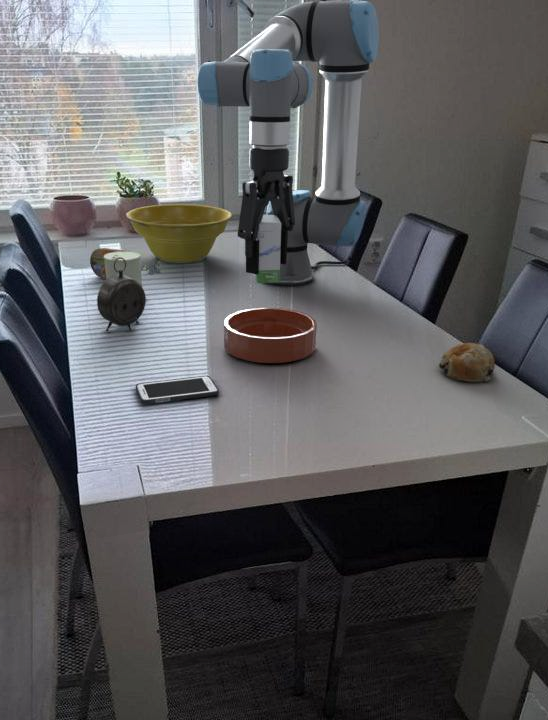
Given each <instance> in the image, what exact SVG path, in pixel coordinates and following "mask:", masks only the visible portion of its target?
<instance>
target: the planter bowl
mask: <svg viewBox="0 0 548 720" xmlns="http://www.w3.org/2000/svg"><path fill="white" fill-rule="evenodd" d="M125 216H126V218H127V219H129V220H130V222H131V225H132V227H133V229H134V231H135V232H136V233H137V234H138V235H140V236H141V237H142V238H143V239H144V242H145V243H146V245H147V247H148V248H149V250H150V252H151V253H152V255H154V256H155V257H156V258H158V259H159V260H160V261H162V262H166V263H173V264H189V263H195V262H200V261H201V260H204V258H206V257H207V256H208V255H209V254H210V251H211V250H212V248H213V246H214V244H215V242H216V240H217V238H218V237H219V236H220V235H221V234H223V233H224V231H225V230H226V227H227V225H228V222H229V220H230V219H231V218H232V217H233V214H232V212H230V211H229V210H226V209H224V208H220V207H216V206H209V205H203V204H202V205H201V204H185V203H184V204H183V203H171V204H156V205H147V206H141V207H137V208H134V209H130V210H129V211H128V212H126V215H125Z"/></svg>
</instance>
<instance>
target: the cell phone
mask: <svg viewBox="0 0 548 720" xmlns="http://www.w3.org/2000/svg"><path fill="white" fill-rule="evenodd" d="M135 391H136V393H137V394H136V395H137V396H138V398H139V401H140V403H141V404H143V405H149V404H156V403H157V404H158V403H164V402H174V401H183V400H190V399H199V398H207V397H213V396H218V395H219V393H220V390H219V388H218V387H217V385H216V383H215V381H214V379H212V377H211V376H209V375H199V376H190V377H182V378H174V379H165V380H157V381H156V380H155V381H147V382H140V383H136V384H135Z"/></svg>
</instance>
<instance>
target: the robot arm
mask: <svg viewBox="0 0 548 720" xmlns="http://www.w3.org/2000/svg"><path fill="white" fill-rule="evenodd" d="M379 45H380V29H379V19H378V15H377V11H376V8H375V7H374V5H373V4H372V2H370V1H366V0H327V1H326V0H325V1H314V0H313V1H305V2H301V3H297V4H295V5H293V6H290V7H288V8H286V9H285V10H283V11H281V12H279V13H277V14H276V15H273V17H272V18H270V19H269V20H268V21H267V22H266V23H265V24H264V26H263V28H262V31H261V33H259V34H258V35H256V36H255V37H253V38H252V39H251V40H250V41H248V42H247V43H246V44H245V45H243V46H242V47H241V48H239V49H238V50H237V51H235V52H234V53H233V54H232V55H230V56H229V57H228V58H226V59H225V60H223V61H216V60H213V61H208V62H204V63H202V64H201V65H200V67H199V68H198V72H197V77H196V82H197V83H196V87H197V93H198V97H199V99H200V101H201V103H203V104H204V105H207V106H215V107H218V108H220V107H240V108H241V107H242V108H243V107H245V108H249V144H250V145H251V147H250V148H249V150H248V152H249V153H248V167H249V169H250V170H251V171H252V172H253V177H252V180H251V181H243V182H242V185H241V186H242V187H241V189H242V198H241V206H240V215H239V220H238V227H237V237H238V238H240V239H243V240H244V255H245V256H244V257H245V273H248V274H252V275H254V274H256V275H257V274H259V240H256V238H257V235H258V231H259V224H260V223H261V221H262V217H263V215H275V216H277V217H278V218H279V220H280V222H281V249H280V282H279V283H268V284H270V285H274V286H300V285H304V284H307V283H310V282H312V280H313V270H317V268H318V266H319V265H345V264H347V263H348V262H349V260H352V256H351V255H350V254H347V255H346V258H345V260H341V261H334V260H333V261H332V260H331V261H330V260H320V261H317V262H315V264H314V265H313V266H312V265H311V261H310V257H309V252H308V244H312V245H324V246H333V247H338V248H339V247H348V248H349V247H352V246H354V245H355V244H357V242H358V240H359V238H360V235H361V233H362V230H363V227H364V222H365V219H366V214H367V203H366V201H364V200H361V191H360V190H359V189H358V188H357V186H356V173H357V157H358V142H359V129H360V128H359V127H360V115H361V113H360V112H361V98H362V97H361V96H362V80H363V78H364V77H365V76H366V75H367V74H368V72H369V70H370V64H372V63H374V62H375V61H376V60H377V57H378V54H379V52H378V51H379V47H380V46H379ZM299 62H312V63H313V62H314V63H316V62H317V63H319V73H320V75H321V76H322V77H323V78H324V80H325V82H324V83H325V85H324V86H325V87H324V109H323V110H324V112H323V140H322V164H321V165H322V167H321V168H322V169H321V186H320V187H319V188H318V189H317V190H316V191H315V197H313V196H312V194H311V191H310V190H309V189H308V190H306V189H296V190H293V184H294V183H293V182H294V176H293V175H289V174H284V172H285V171H287V170H288V169H289V159H290V158H289V157H290V150H289V148H288V147H287V146H289V145H290V144H291V142H290V139H291V109H296V108H299V107H300V106H302V105H304V104H306V102H307V101H308V100H309V99H310V97H311V95H312V93H313V88H314V80H313V76H312V73H311V72H310V70H309V69H308V67H307V66H305V65H304V64H303V63H299ZM311 196H312V197H311ZM265 210H266V212H265Z"/></svg>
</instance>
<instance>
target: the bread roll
mask: <svg viewBox="0 0 548 720" xmlns="http://www.w3.org/2000/svg"><path fill="white" fill-rule="evenodd" d="M495 361H496V360H495V357H494V355H493V354H492V352H491V351H490V350H489V349H488V348H486V347H485V345H484V344H479V343H474V342H465V343H462V344H458V345H455V346H453V347H451V348H450V349H449V350H447V351H446V352H445V353H443V356H441V359H440V362H439V364H438V365H439V368H440V369H442V373H443V374H444V375H445V376H446V377H448V378H450V379H453V380H455V381H457V382H467V383H483V382H485V383H486V382H488V381H490V380H491V377H492V375H493V374H494V371H495V367H496V362H495Z"/></svg>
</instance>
